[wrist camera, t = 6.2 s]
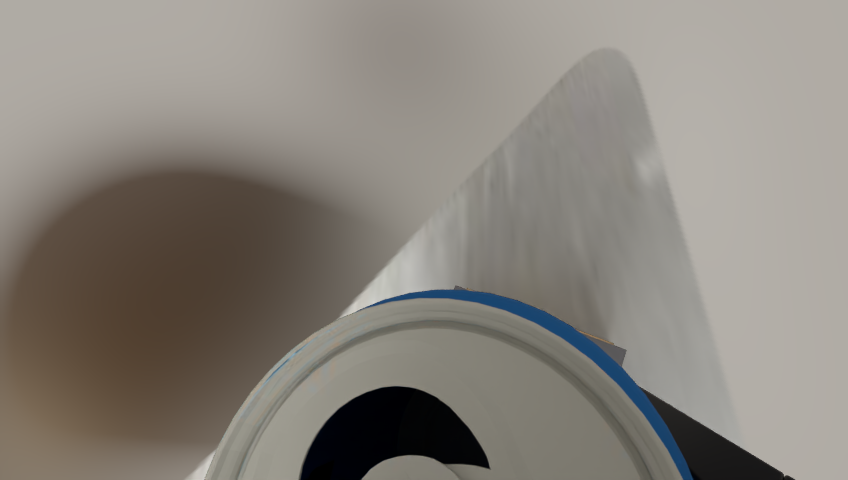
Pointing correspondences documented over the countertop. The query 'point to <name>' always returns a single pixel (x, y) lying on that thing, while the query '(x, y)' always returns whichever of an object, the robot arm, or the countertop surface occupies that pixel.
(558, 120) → the countertop surface
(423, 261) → the countertop surface
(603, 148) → the countertop surface
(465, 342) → the beverage can
